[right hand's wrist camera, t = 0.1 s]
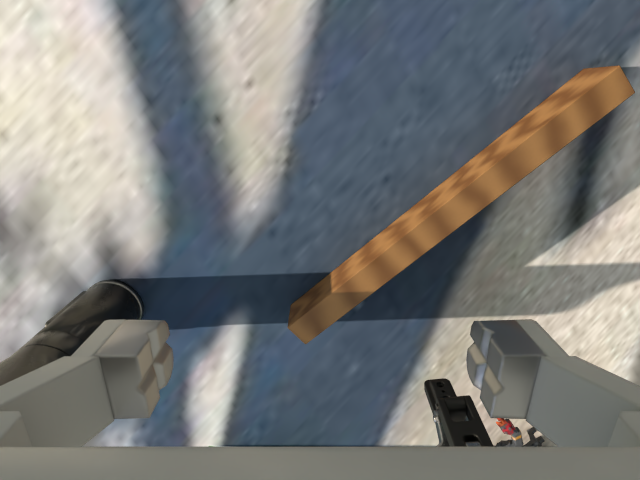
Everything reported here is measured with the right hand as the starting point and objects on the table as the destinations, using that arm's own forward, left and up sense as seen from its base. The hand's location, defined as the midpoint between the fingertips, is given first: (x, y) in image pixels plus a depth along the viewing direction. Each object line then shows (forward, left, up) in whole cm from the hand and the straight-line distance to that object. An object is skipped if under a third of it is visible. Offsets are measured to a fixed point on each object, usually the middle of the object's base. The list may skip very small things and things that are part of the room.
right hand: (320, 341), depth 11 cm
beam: (+10, +17, -48) cm, 52 cm away
